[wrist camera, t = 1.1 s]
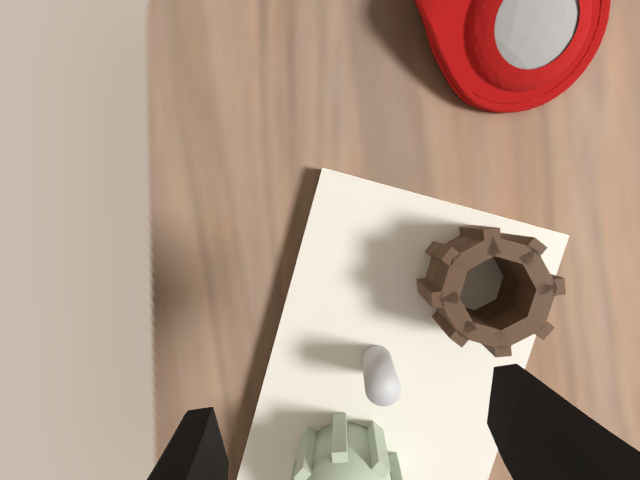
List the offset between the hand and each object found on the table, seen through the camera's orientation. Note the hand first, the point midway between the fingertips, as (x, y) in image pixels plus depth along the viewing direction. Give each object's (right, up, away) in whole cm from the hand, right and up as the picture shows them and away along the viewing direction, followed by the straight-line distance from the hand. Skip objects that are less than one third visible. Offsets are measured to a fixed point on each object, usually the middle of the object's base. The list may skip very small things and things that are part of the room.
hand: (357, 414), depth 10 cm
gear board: (+3, -3, +12) cm, 13 cm away
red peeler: (+10, +16, +11) cm, 22 cm away
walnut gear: (+7, +2, +10) cm, 13 cm away
